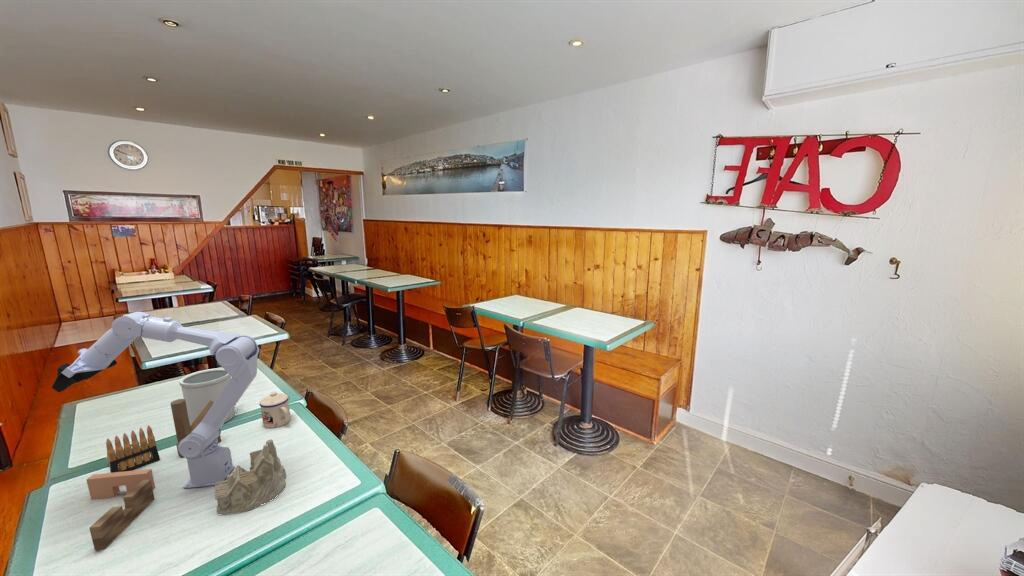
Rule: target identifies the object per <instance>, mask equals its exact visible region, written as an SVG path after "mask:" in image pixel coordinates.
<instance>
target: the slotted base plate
mask: <svg viewBox="0 0 1024 576" xmlns="http://www.w3.org/2000/svg"><path fill="white" fill-rule="evenodd" d="M122 499H123V503H124V509H123V505H117V506H112V507H110V508H109V509H108V510H107V511H106V512H105V513H104V514H103V515H102V516H100V517H99V518H98V519H97V520H96V521H95V522H94V523H93V524H91V526H89V533H90V536H91V541H92V544H93V549H94V551H101V550H106V549H107V548H108V547H109V546H110V545H111V544H112V543H113V542H114V540H116V539H117V537H118V536H120V535H121V534H122V532H124V530H125V529H126V528H128V527H129V526H130V525H131V524H132V523H133V522H134V521H135V520H136V519H137V518H138V517H139V516H140V515H141V514H142V513H143V512H144V511H145V510H146V508H148V506H150V505H151V503H152V502H154V501H155V499H156V498H155V494H154V490H153V488H152V483H151V479H150V480H142V481H141V482H140V483H139V484H138V485H136V486H135V487H134V488H133V489H132V490H131V491H130V492H129V493H127V492H126V494H125V495H124V496H123V497H122Z"/></svg>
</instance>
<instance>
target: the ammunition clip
mask: <svg viewBox="0 0 1024 576" xmlns="http://www.w3.org/2000/svg"><path fill="white" fill-rule="evenodd" d="M130 433H131V434H130V438H131V441H130V440H129V439H130V438H129V436H128V434H127V433H126V432H123V435H122V440H123V444H124V450H123V447H122V445H121V442H120V440H121V438H119V436H118V435H115V437H114V444H115V451H114V449H113V443H112V441H111V440H110V439H109V438H106V441H105V445H106V446H105V447H106V456H107V457H108V459H107V461H108V464H109V473H114V472H124V471H134V470H139V469H141V468H144V467H146V466H149V465H151V464H154V463H156V462H159V461H160V460H161V458H160V457H161V456H160V454H159V450H158V448H157V443H156V438H155V436H154V433H153V428H152V427H151V425H148V424H147V428H146V433H145V431H144V429H143V428H142V427H140V428H139V431H138V436H139V440H138V437H137V434H136V432H135V430H133V429H132V430H131V432H130ZM145 434H146V435H147V438H146V435H145ZM130 442H132V446H131V444H130ZM140 447H141V449H140ZM115 452H116V454H115ZM118 466H119V467H118Z"/></svg>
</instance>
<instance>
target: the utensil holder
mask: <svg viewBox="0 0 1024 576" xmlns="http://www.w3.org/2000/svg"><path fill="white" fill-rule="evenodd" d="M231 378H232V377H231V376H230V375H229V374H228V373H227V372H226V371H225V370H224V368H223V367H221V368H220V367H217V368H214V367H213V368H210V369H203V370H198V371H195V372H192V373H189V374H187V375H185V376H182V377H181V378H180V379H179V386H180V387H181V391H182V399H185V401H186V406H187V412H188V417H189V423H190V426H191V425H192V423H193V422H194V421H195V419H196V418H197V417H198V416H199V414H200V413H201V412H202V411H203V409H204V408H205V407H206V405H207V404H208V403H209V402H210V400H211V401H213V402H215V401H216V400H217V398H218V397H219V395H220V394H221V393H222V391H223V390H224V388H225V387H226V385H227V384H228V383H229V381H230V380H231ZM235 415H236V409H235V406H234V408H233V409H232V411H231V412H230V413H229V415H228V416H227V418H226V419H225V420H224V424H225V423H227V422H229V421H231V420H233V418H234V417H235Z"/></svg>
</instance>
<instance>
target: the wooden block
mask: <svg viewBox="0 0 1024 576" xmlns="http://www.w3.org/2000/svg"><path fill="white" fill-rule="evenodd" d="M213 404H214V402H213V401H211V400H210V402H209V403H208V404H207V405H206V407H205V408H204V409H203V411H202V412H201V413H200V414H199V416H198V417H197V418H196V419H195V421H194V422H193V423H192V425H191V426H190V423H189V417H188V412H187V406H186V401H185V399H184V398H179V399H175V400H173V401H171V402H170V408H171V409H170V410H171V414H172V418H173V425H174V428H175V435H176V436H175V437H176V439H177V443H176V450H177V454H178V455H179V456H180V457H181V458H185V457H184V456H182V455H181V454H180V453H179V451H178V445H179V443H180V441H181V440H183V439H184V438H186V437H187V436H188V435H189V434H190V433H191V432H192V431H193V430H194V429H195V428H196V427H197V426H198V425H199V423H200V422H201V421H202V420H203V418H204V417H205V415H206V414H207V412H208V411H209V410H210V408H211V407H212V405H213ZM217 439H218V444H219V443H221V442H222V438H221V435H220V436H219V437H218V438H217Z"/></svg>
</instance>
